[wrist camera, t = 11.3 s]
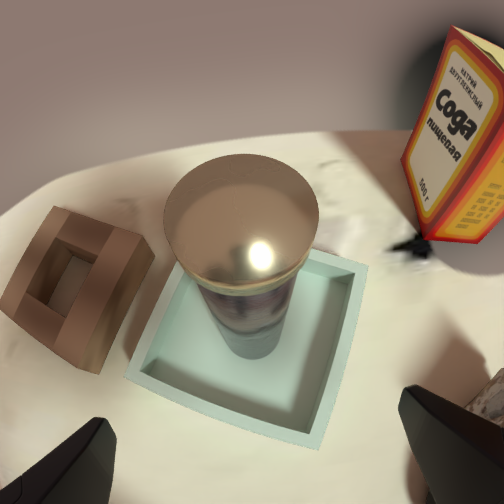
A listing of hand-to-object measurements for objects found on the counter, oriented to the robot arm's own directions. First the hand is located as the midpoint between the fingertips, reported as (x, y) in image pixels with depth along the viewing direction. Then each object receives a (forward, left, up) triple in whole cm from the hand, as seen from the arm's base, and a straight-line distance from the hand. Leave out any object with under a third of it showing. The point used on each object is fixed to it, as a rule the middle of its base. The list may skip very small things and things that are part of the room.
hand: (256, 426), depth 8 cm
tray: (+5, +2, -11) cm, 12 cm away
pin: (+5, +2, -10) cm, 12 cm away
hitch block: (+3, +16, -11) cm, 20 cm away
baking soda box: (+22, -11, -11) cm, 27 cm away
